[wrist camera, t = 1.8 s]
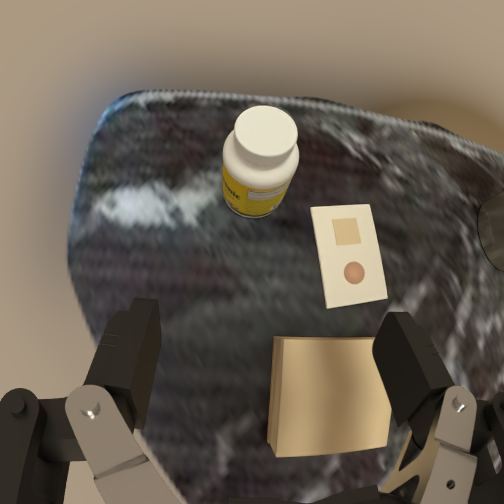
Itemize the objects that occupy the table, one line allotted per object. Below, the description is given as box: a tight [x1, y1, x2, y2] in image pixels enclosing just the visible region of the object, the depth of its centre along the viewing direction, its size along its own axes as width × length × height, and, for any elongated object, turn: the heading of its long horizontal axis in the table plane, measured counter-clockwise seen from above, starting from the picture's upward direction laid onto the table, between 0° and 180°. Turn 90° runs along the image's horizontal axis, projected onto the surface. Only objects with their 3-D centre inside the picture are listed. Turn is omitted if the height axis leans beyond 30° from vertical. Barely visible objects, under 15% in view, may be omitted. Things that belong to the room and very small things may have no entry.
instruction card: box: [310, 204, 388, 309], centre depth 27 cm, size 6×9×1 cm, turn 7°
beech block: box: [267, 336, 391, 457], centre depth 23 cm, size 9×9×4 cm
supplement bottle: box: [222, 106, 299, 218], centre depth 23 cm, size 5×5×10 cm
